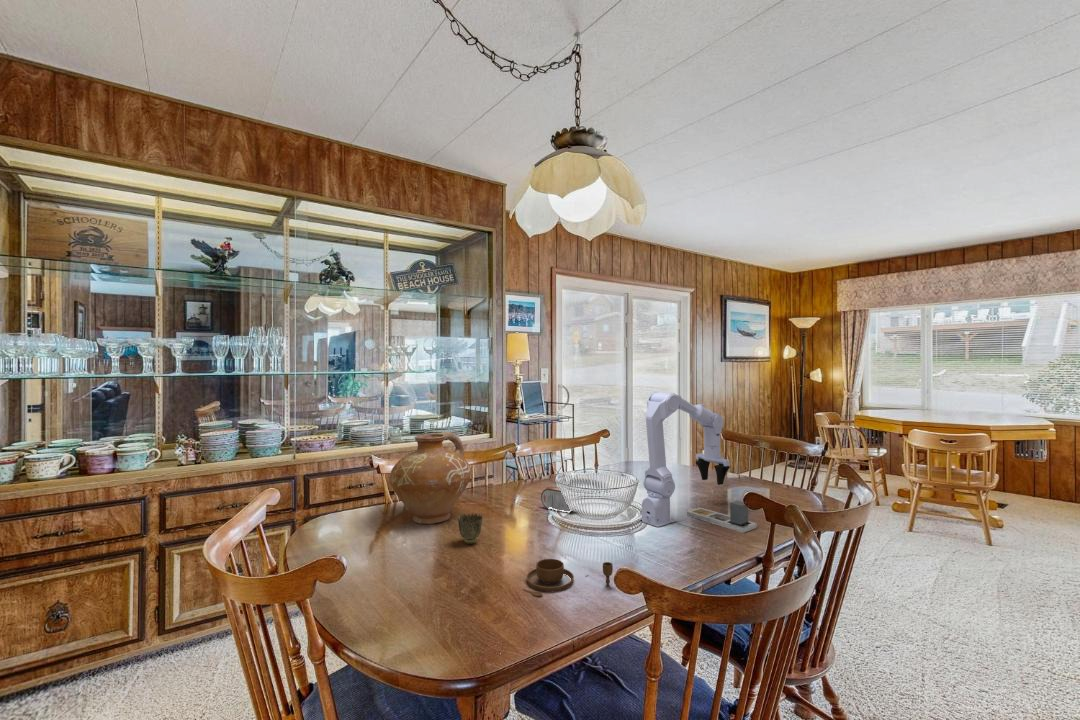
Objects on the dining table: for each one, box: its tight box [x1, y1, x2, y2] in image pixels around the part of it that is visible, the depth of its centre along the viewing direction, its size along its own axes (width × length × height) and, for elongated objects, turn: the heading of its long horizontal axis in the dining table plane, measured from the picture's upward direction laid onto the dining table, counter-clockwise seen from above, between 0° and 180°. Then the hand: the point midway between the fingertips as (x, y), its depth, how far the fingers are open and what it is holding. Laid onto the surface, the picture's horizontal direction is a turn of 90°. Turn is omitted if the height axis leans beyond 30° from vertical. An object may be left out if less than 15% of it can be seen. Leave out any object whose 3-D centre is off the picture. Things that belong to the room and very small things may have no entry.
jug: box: [389, 431, 472, 525], centre depth 173 cm, size 28×28×30 cm
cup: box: [457, 512, 483, 545], centre depth 150 cm, size 8×7×8 cm
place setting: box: [521, 558, 614, 598], centre depth 121 cm, size 18×20×6 cm
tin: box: [540, 485, 570, 511], centre depth 180 cm, size 15×3×8 cm, turn 58°
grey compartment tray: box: [686, 507, 758, 534], centre depth 167 cm, size 8×22×2 cm, turn 36°
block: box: [729, 500, 749, 527], centre depth 161 cm, size 4×4×8 cm
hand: (712, 482), depth 181 cm, fingers open, 7 cm apart
